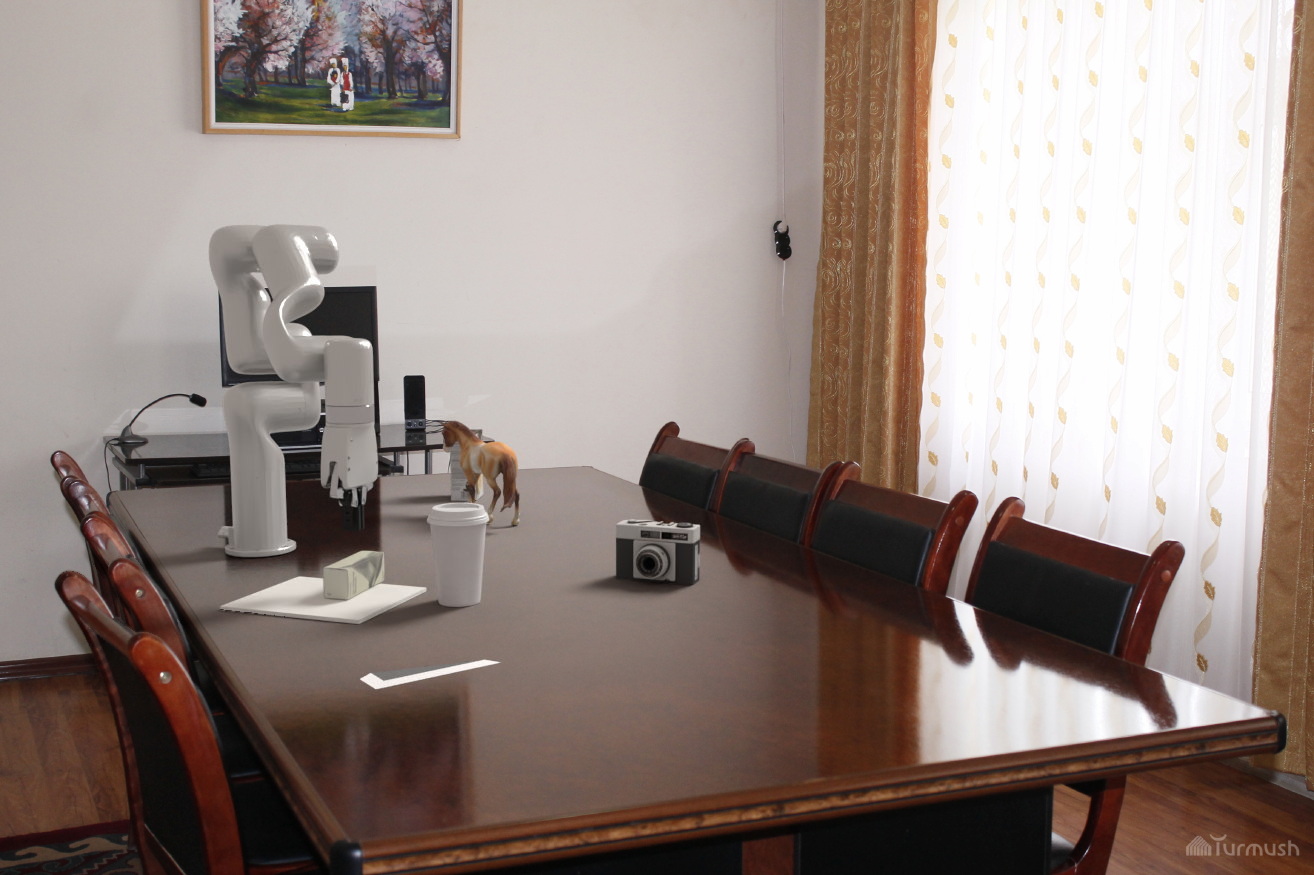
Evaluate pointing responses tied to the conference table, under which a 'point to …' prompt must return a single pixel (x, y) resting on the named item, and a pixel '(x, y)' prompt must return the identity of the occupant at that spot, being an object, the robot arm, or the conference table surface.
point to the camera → (658, 551)
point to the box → (353, 575)
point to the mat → (323, 601)
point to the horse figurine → (484, 465)
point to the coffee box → (462, 475)
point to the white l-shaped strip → (418, 673)
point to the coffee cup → (458, 551)
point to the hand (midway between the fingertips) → (353, 529)
